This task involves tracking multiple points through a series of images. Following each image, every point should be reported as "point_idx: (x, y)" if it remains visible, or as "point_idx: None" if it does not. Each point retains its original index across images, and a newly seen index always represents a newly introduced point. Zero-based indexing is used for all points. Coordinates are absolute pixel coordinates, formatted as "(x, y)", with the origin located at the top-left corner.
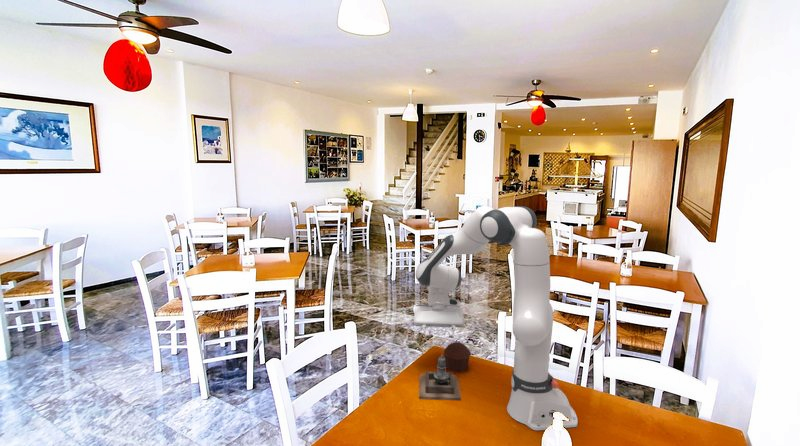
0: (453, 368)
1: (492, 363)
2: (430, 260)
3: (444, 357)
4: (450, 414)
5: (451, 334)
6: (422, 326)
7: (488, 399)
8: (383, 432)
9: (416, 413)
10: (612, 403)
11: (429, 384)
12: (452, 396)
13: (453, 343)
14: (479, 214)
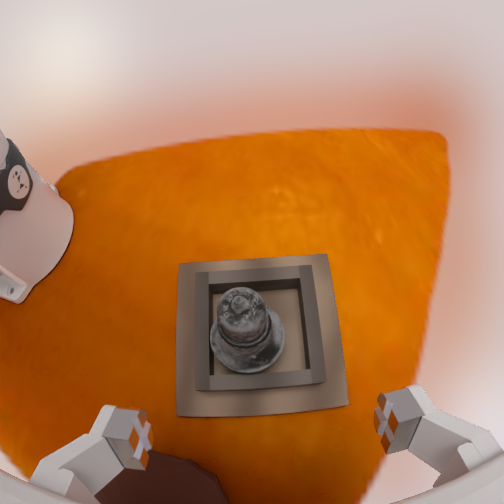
0: (191, 463)
1: None
2: None
3: (221, 311)
4: (221, 202)
5: (113, 416)
6: (491, 435)
7: (97, 283)
8: (372, 140)
9: (319, 195)
10: None
11: (299, 334)
12: (207, 267)
13: None
14: None
